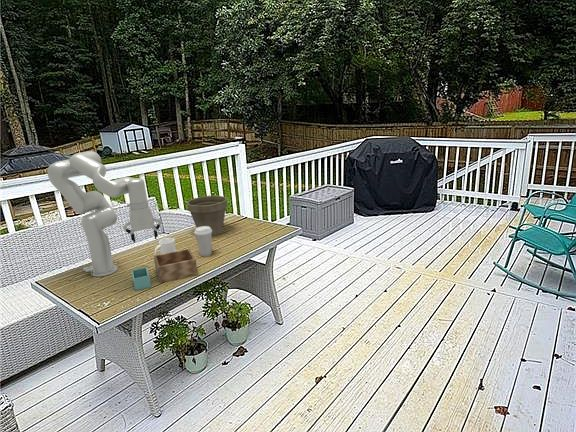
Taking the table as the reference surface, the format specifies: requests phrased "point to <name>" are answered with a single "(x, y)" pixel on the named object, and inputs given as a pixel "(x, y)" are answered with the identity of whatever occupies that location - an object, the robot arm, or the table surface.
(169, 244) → the mug
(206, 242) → the coffee cup
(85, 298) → the table surface
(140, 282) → the small crate
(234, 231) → the table surface
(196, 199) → the plant pot
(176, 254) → the big crate
